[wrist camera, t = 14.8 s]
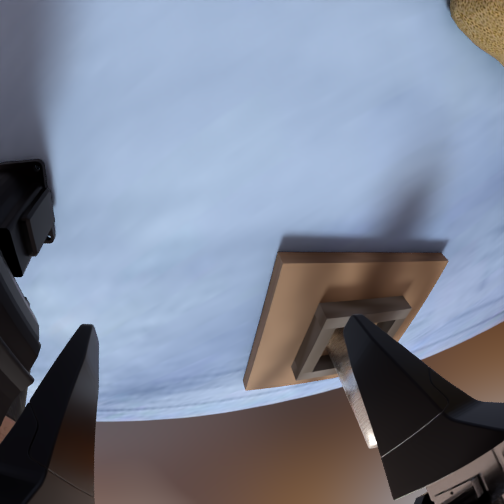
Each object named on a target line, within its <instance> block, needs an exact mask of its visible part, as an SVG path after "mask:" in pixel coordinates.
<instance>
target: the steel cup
mask: <svg viewBox="0 0 504 504" xmlns="http://www.w3.org/2000/svg"><path fill="white" fill-rule="evenodd" d="M343 330H344V327H341V328H336V329H335V331H334V333H333V334H332V336H331V338H330V340H329V342H328V344H327V346H326V349H327V351H328V354H329V356H330V358H331V361H332V363H333V365H334V367H335V370H336V372H337V374H338V377H339V379H340V381H341V383H342V386H343V388H344V390H345V393H346V395H347V397H348V400H349V402H350V404H351V407H352V409H353V411H354V414H355V416H356V418H357V421H358V423H359V426H360V428H361V430H362V433H363V435H364V437H365V440H366V442H367V445H368V447H369V448H376V447H378V446H377V443H376V440H375V437H374V433H373V430H372V427H371V424H370V421H369V418H368V415H367V412H366V409H365V406H364V403H363V400H362V397H361V394H360V391H359V388H358V385H357V383H356V380H355V377H354V374H353V371H352V368H351V364H350V360H349V356H348V351H347V347H346V343H345V339H344V335H343Z"/></svg>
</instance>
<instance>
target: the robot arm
mask: <svg viewBox="0 0 504 504" xmlns="http://www.w3.org/2000/svg"><path fill="white" fill-rule="evenodd" d="M35 165H38V166H39V168H40V169H39V170H38V169H37V168H36V167H35ZM54 222H55V217H54V212H53V205H52V199H51V192H50V190H49V189H48V188H47V181H46V173H45V165H44V162H43V161H42V160H40V159H34V160H22V161H12V162H3V163H0V427H1V425H2V422H3V420H4V418H5V416H6V413H7V411H8V409H9V407H10V406H11V404H12V402H13V401H14V400H15V398H16V397H17V396H18V395H19V394H20V393H21V391H23V390H24V389H26V388H27V387H28V386H30V385H31V384H32V383H33V382H34V378H33V377H32V376H31V375H30V374H29V371H30V369H31V367H32V366H33V364H34V362H35V360H36V359H37V357H38V354H39V351H40V348H41V344H40V342H39V325H38V323H37V320H36V318H35V315H34V314H33V312H32V310H31V308H30V303H29V302H28V300H27V298H26V297H24V295H23V293H22V292H21V290H20V288H19V286H18V284H17V282H16V280H15V278H14V277H22V276H23V274H24V272H25V270H26V268H27V266H28V264H29V261H30V259H31V257H32V256H37V254H38V253H39V251H40V249H41V247H42V245H43V243H52V242H53V241H54V239H55V230H54V225H53V224H54ZM47 235H49V236H51V238H50V237H48V236H47ZM343 335H344V339H345V343H346V347H347V351H348V356H349V360H350V364H351V368H352V371H353V374H354V377H355V380H356V383H357V385H358V388H359V391H360V394H361V397H362V400H363V403H364V406H365V409H366V412H367V415H368V418H369V421H370V424H371V427H372V430H373V433H374V437H375V440H376V443H377V446H378V449H379V453H380V455H381V457H382V458H381V459H382V462H383V466H384V469H385V473H386V476H387V480H388V483H389V486H390V490H391V493H392V497H393V499H394V500H396V499H398V498H401V497H403V496H406V495H408V494H410V493H413V492H415V491H417V490H419V489H422V488H424V487H426V489H427V492H426V493H425V494H423V495H421V496H420V497H418V498H416V500H415V503H414V504H504V403H493V402H481V401H478V400H475V399H474V398H472V397H470V396H469V395H467V394H466V393H464V392H463V391H461V390H460V389H458V388H456V387H455V386H454V385H452V384H451V383H450V382H448V381H447V380H445V379H444V378H442V377H441V376H440V375H439V374H437V373H436V372H435V371H434V370H432V369H431V368H430V367H428V366H427V365H426V364H425V363H424V362H422V361H421V360H420V359H419V358H417V357H416V356H415V355H414V354H412V353H411V352H410V351H408V350H407V349H406V348H405V347H403V346H402V345H401V344H400V343H398V342H397V341H396V340H395V339H393V338H392V337H391V336H389V335H388V334H387V333H386V332H384V331H383V330H382V329H381V328H379V327H378V326H377V325H375V324H374V323H373V322H372V321H370V320H369V319H368V318H366V317H365V316H364V315H362V314H353V315H351V316H350V318H349V320H348V321H347V323H346V325H345V327H344V330H343ZM98 390H99V341H98V337H97V334H96V331H95V328H94V326H93V325H92V324H82V325H80V327H79V328H78V329H77V331H76V332H75V334H74V335H73V336H72V338H71V339H70V341H69V342H68V343H67V345H66V346H65V348H64V349H63V351H62V352H61V353H60V355H59V356H58V358H57V359H56V361H55V362H54V364H53V365H52V367H51V368H50V370H49V371H48V373H47V374H46V376H45V377H44V379H43V380H42V382H41V383H40V385H39V386H38V388H37V390H36V391H35V393H34V394H33V396H32V397H31V399H30V403H28V404H27V405H26V407H25V409H24V410H23V412H22V413H21V415H20V417H19V418H18V420H17V421H16V423H15V424H14V426H13V427H12V428H11V430H10V431H9V433H8V434H7V435H6V437H5V438H4V439H3V441H2V442H1V443H0V504H95V502H94V448H95V427H96V413H97V401H98Z"/></svg>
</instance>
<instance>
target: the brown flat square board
mask: <svg viewBox="0 0 504 504" xmlns="http://www.w3.org/2000/svg"><path fill="white" fill-rule="evenodd" d="M447 263H448V260H447V259H446V258H445V256H444V255H443V254H442V253H387V252H278V253H277V257H276V261H275V265H274V268H273V272H272V276H271V280H270V284H269V288H268V291H267V295H266V299H265V303H264V306H263V310H262V314H261V317H260V321H259V325H258V329H257V332H256V336H255V340H254V343H253V347H252V350H251V354H250V358H249V361H248V365H247V368H246V372H245V375H244V379H243V382H244V387H245V391H246V390H255V389H264V388H272V387H280V386H287V385H294V384H300V383H307V382H313V381H319V380H324V379H330V378H335V377H338V374H337V372H336V370H335V367H334V365H333V363H332V361H331V358H330V356H329V354H328V351H327V349H326V346H327V344H328V342H329V340H330V338H331V336H332V334H333V333H334V331H335V329H336V328H341V327H345V325H346V323H347V321H348V320H349V318H350V316H351V315H353V314H362V315H364V316H365V317H366V318H368V319H369V320H370V321H372V322H373V323H374V324H375V325H377V326H378V327H379V328H381V329H382V330H383V331H384V332H386V333H387V334H388V335H389V336H391V337H392V338H393V339H395V340H396V341H397V342H398V341H399V339H400V338H401V336H402V335H403V334H404V332H405V331H406V329H407V328H408V326H409V325H410V323H411V322H412V320H413V319H414V317H415V316H416V314H417V313H418V311H419V310H420V308H421V307H422V305H423V303H424V302H425V300H426V299H427V297H428V295H429V294H430V292H431V290H432V289H433V287H434V285H435V284H436V282H437V280H438V279H439V277H440V275H441V273H442V272H443V270H444V268H445V266H446V265H447Z"/></svg>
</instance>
